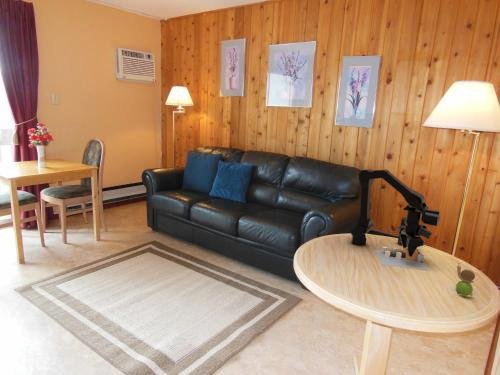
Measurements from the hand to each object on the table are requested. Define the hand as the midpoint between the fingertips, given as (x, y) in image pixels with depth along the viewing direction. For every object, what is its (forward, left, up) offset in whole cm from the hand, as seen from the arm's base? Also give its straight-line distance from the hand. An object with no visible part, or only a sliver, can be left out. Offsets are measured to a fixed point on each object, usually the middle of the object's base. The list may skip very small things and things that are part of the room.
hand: (407, 252), depth 158 cm
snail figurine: (+13, -28, -4) cm, 31 cm away
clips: (-7, 0, -3) cm, 7 cm away
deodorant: (+4, +18, -4) cm, 19 cm away
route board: (-3, -3, -4) cm, 6 cm away
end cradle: (+5, 0, -3) cm, 5 cm away
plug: (-3, 0, -3) cm, 4 cm away
